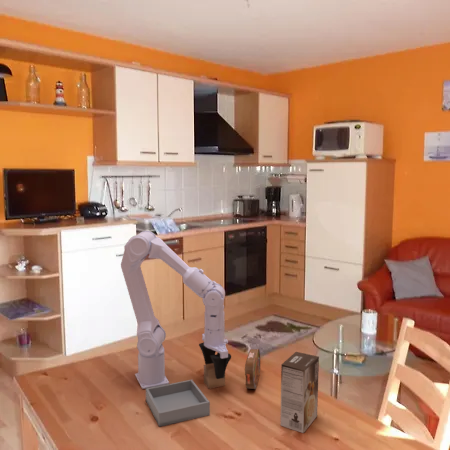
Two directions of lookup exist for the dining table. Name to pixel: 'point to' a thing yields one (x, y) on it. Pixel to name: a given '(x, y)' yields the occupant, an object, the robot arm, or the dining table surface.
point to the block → (212, 377)
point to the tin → (252, 369)
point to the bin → (177, 402)
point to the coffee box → (299, 391)
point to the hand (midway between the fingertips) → (214, 372)
